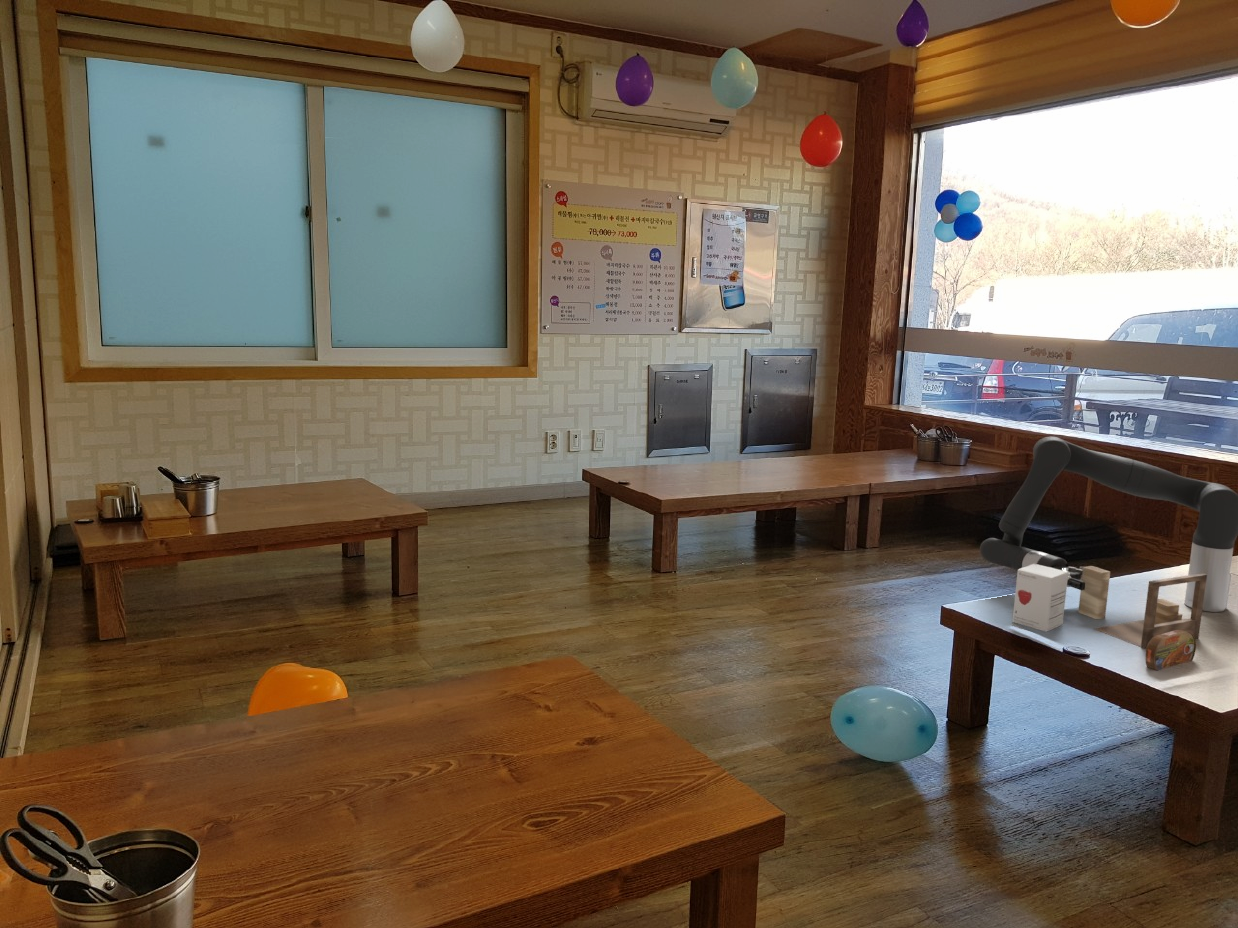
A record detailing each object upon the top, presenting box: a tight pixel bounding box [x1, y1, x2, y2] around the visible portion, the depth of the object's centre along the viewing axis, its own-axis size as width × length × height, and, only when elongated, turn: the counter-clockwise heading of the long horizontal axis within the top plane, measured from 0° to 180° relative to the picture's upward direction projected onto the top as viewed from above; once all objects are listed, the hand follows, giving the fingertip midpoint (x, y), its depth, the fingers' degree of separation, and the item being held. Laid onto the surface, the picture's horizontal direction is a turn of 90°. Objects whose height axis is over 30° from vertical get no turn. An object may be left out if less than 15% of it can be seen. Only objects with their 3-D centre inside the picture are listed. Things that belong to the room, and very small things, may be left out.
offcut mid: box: [1155, 612, 1183, 623], centre depth 221 cm, size 4×6×2 cm
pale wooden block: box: [1077, 565, 1111, 620], centre depth 231 cm, size 3×6×13 cm, turn 23°
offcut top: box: [1156, 598, 1180, 616], centre depth 220 cm, size 4×5×2 cm
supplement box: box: [1011, 564, 1069, 633], centre depth 225 cm, size 9×9×15 cm
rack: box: [1093, 573, 1207, 650], centre depth 218 cm, size 18×14×17 cm
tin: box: [1145, 630, 1197, 672], centre depth 201 cm, size 15×3×8 cm, turn 117°
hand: (1096, 584), depth 230 cm, fingers open, 8 cm apart
